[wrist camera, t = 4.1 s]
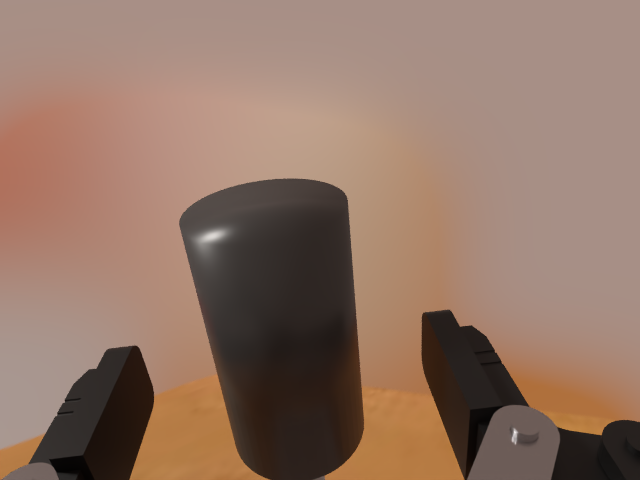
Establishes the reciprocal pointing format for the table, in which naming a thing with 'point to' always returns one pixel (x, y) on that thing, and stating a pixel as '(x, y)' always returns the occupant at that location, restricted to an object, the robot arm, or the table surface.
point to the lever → (281, 321)
